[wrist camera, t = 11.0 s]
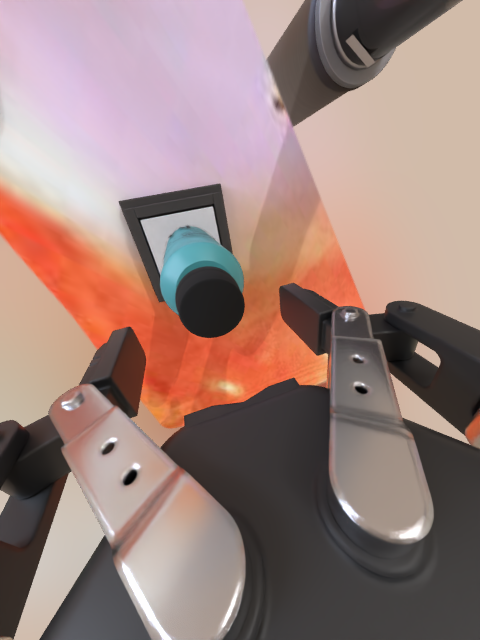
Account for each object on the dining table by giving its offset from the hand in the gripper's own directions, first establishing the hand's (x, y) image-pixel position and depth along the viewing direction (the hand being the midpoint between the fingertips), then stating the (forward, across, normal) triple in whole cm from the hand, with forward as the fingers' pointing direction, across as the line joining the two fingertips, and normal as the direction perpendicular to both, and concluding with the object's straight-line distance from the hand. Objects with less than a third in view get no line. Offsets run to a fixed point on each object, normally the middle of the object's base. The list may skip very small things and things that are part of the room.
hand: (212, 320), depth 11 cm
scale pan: (+22, 0, 0) cm, 22 cm away
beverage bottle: (+21, 0, 0) cm, 21 cm away
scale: (+24, 0, 0) cm, 24 cm away
